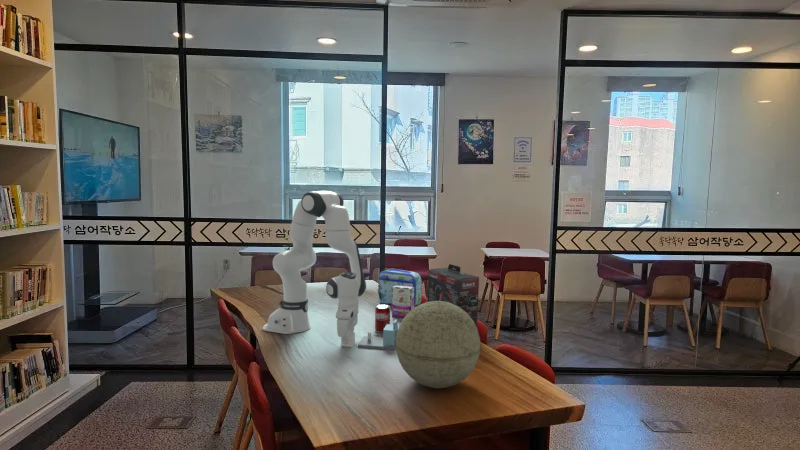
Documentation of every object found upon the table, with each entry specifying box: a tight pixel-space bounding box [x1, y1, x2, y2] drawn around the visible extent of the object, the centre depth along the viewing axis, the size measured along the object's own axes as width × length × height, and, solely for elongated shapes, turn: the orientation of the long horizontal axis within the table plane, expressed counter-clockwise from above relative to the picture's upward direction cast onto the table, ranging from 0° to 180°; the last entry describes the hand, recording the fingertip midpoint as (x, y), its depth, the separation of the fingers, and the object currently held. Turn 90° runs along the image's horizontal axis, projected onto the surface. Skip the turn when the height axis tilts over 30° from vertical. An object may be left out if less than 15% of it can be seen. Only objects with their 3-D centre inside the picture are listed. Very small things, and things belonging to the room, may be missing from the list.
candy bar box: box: [391, 285, 415, 319], centre depth 246 cm, size 11×5×16 cm, turn 68°
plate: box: [357, 331, 396, 351], centre depth 204 cm, size 16×11×5 cm
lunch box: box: [377, 267, 423, 307], centre depth 269 cm, size 26×11×21 cm, turn 58°
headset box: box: [427, 263, 480, 328], centre depth 219 cm, size 25×12×33 cm, turn 32°
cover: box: [382, 319, 399, 346], centre depth 202 cm, size 5×8×10 cm, turn 171°
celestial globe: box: [395, 301, 481, 389], centre depth 163 cm, size 30×30×30 cm
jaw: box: [340, 331, 356, 348], centre depth 203 cm, size 5×5×5 cm
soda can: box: [374, 304, 391, 334], centre depth 222 cm, size 7×7×12 cm
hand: (348, 340), depth 203 cm, fingers open, 8 cm apart
